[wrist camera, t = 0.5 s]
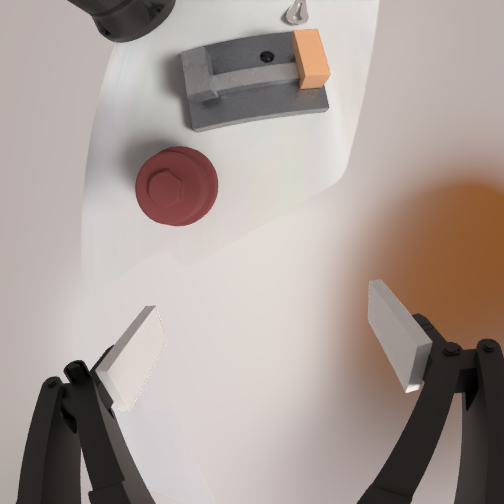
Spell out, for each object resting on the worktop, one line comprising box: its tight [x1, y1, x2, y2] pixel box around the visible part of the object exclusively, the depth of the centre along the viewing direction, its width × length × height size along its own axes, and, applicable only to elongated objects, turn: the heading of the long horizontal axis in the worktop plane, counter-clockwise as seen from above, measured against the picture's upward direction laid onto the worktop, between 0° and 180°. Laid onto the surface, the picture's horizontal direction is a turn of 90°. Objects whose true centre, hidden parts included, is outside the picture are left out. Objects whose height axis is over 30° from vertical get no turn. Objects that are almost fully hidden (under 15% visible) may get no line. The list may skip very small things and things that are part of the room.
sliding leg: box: [292, 29, 331, 89], centre depth 28 cm, size 7×3×6 cm, turn 10°
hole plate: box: [188, 32, 329, 132], centre depth 33 cm, size 13×19×3 cm
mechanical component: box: [135, 146, 218, 226], centre depth 34 cm, size 12×10×10 cm
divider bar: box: [181, 46, 301, 103], centre depth 29 cm, size 6×18×6 cm, turn 100°
